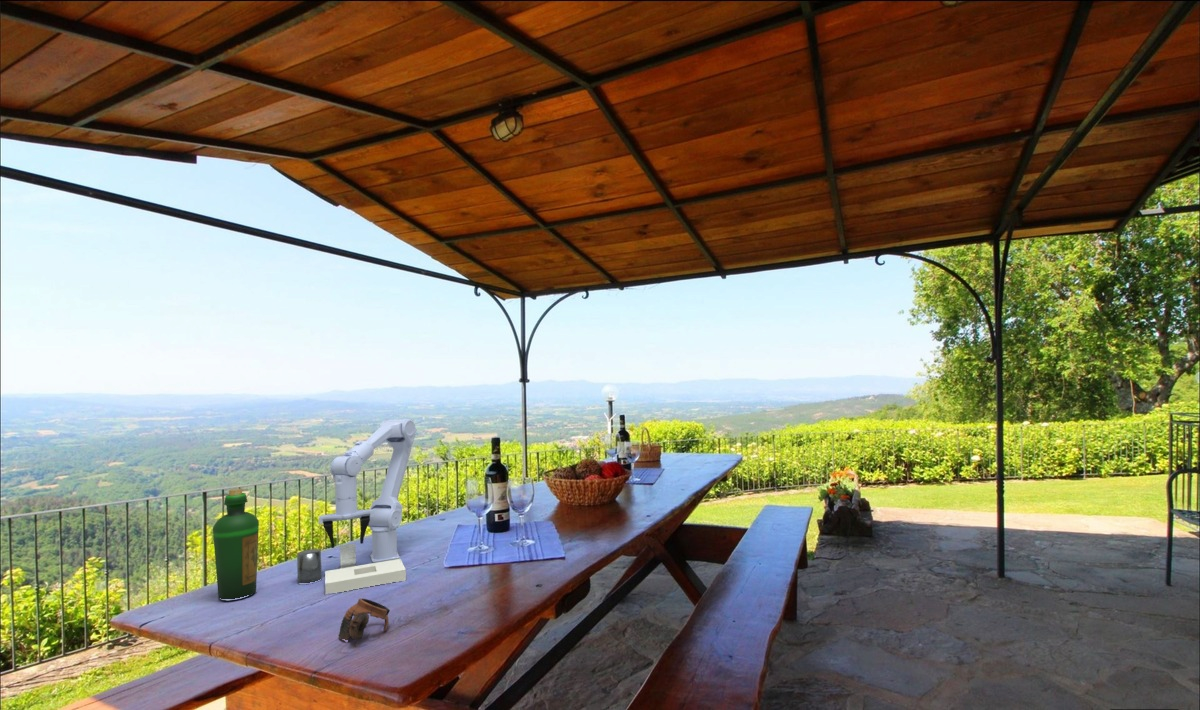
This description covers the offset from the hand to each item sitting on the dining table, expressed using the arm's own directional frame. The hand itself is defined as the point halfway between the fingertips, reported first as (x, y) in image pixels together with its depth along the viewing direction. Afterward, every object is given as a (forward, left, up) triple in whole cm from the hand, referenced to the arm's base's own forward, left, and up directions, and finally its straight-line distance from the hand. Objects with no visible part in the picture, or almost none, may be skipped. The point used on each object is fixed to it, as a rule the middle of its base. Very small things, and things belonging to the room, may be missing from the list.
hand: (347, 545), depth 168 cm
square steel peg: (0, 0, -8) cm, 8 cm away
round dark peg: (0, -10, -8) cm, 13 cm away
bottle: (+3, -27, -9) cm, 28 cm away
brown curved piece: (+48, +1, -9) cm, 49 cm away
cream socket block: (+10, +4, -8) cm, 14 cm away
